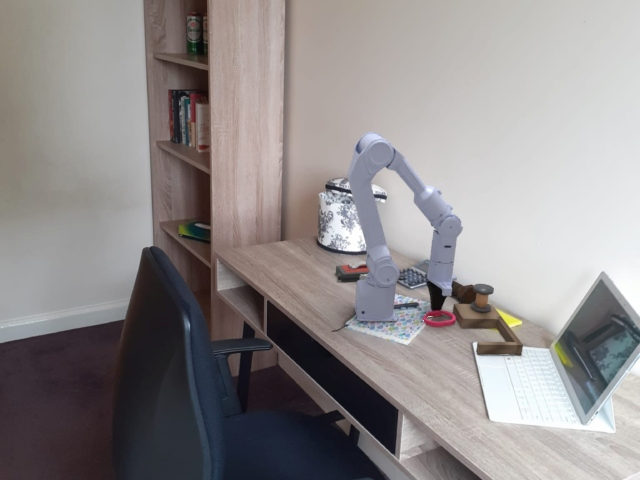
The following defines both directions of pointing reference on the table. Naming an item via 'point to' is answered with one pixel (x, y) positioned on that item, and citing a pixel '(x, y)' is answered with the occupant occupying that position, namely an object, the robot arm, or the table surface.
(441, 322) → the fitness band
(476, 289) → the spool
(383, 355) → the table surface
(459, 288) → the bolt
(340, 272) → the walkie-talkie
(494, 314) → the notched board
